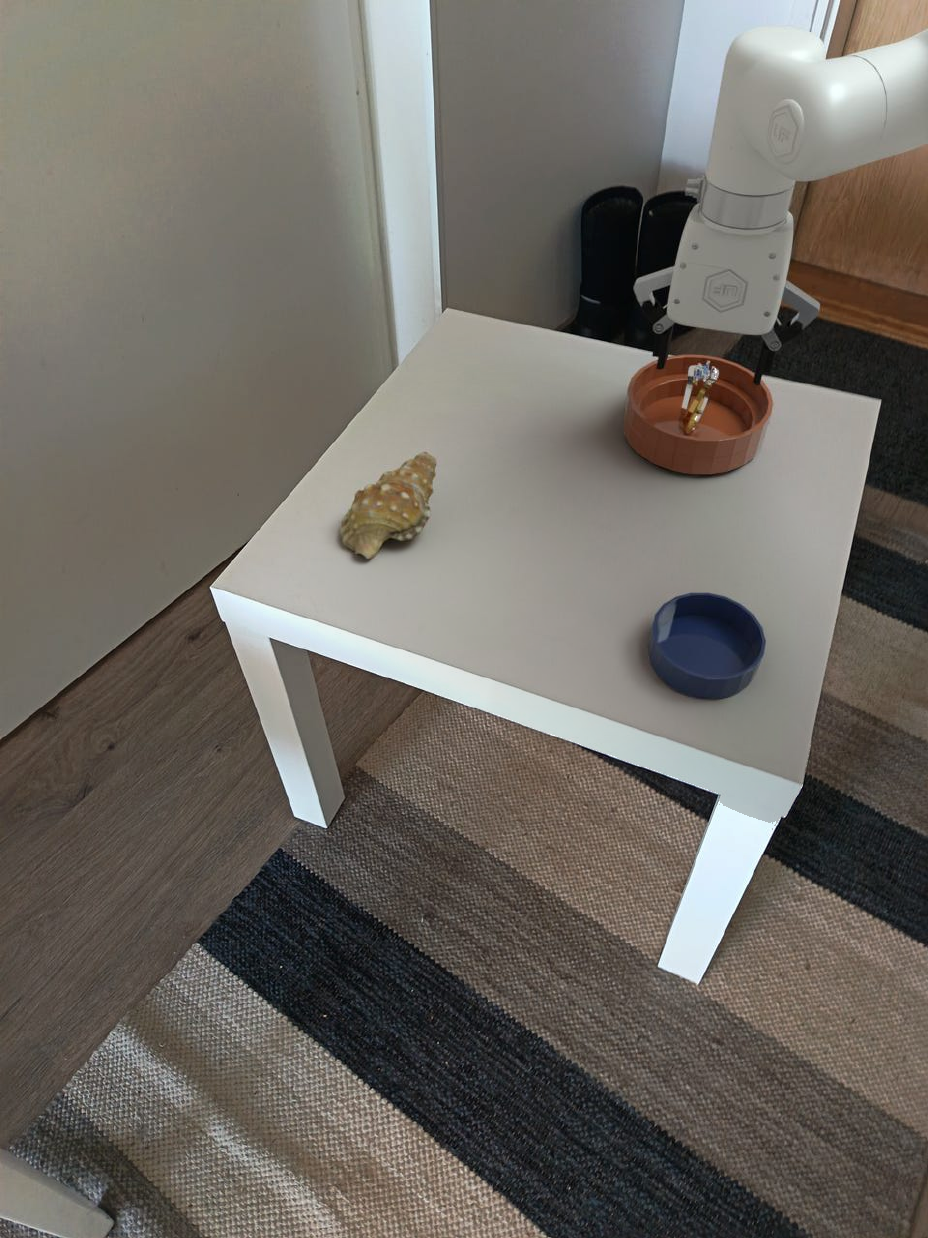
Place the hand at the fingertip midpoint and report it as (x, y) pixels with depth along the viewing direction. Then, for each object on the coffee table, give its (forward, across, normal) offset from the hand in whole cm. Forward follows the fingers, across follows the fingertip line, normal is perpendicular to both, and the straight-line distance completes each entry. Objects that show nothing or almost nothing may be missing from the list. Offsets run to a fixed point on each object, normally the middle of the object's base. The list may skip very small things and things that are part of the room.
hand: (709, 369), depth 88 cm
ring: (+8, -1, 0) cm, 8 cm away
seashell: (+8, -26, -22) cm, 36 cm away
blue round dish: (+9, +6, -30) cm, 32 cm away
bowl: (+8, 0, 0) cm, 8 cm away
